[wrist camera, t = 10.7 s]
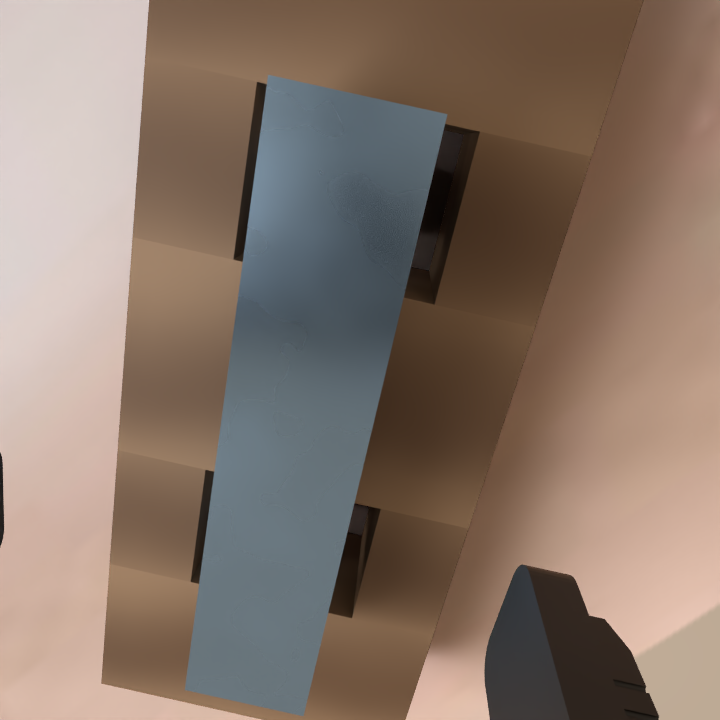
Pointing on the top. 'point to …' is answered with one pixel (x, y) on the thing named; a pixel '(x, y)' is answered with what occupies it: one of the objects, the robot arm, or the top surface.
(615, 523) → the top surface
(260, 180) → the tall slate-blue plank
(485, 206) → the socket block
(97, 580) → the top surface
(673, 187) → the top surface
